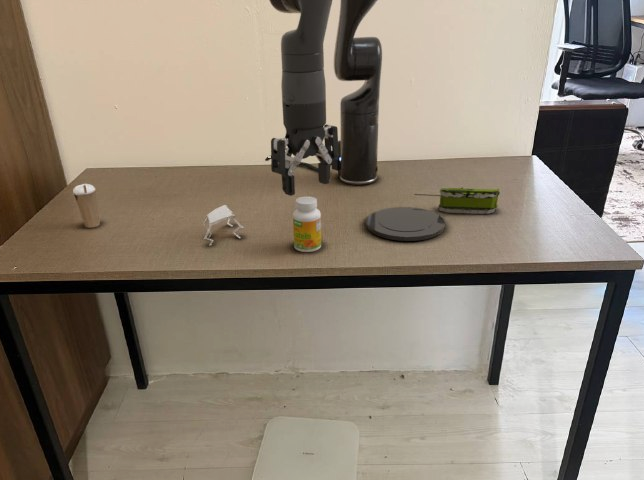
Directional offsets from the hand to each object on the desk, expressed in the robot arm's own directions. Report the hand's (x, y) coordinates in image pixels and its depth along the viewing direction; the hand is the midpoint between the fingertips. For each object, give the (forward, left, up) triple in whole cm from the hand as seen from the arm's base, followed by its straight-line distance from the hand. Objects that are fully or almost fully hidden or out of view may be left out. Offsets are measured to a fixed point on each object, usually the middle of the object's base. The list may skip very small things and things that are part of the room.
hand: (307, 188), depth 106 cm
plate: (+7, +21, -12) cm, 25 cm away
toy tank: (+8, +36, -12) cm, 39 cm away
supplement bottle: (0, 0, -12) cm, 12 cm away
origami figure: (-17, -8, -12) cm, 23 cm away
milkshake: (-42, -26, -12) cm, 51 cm away
